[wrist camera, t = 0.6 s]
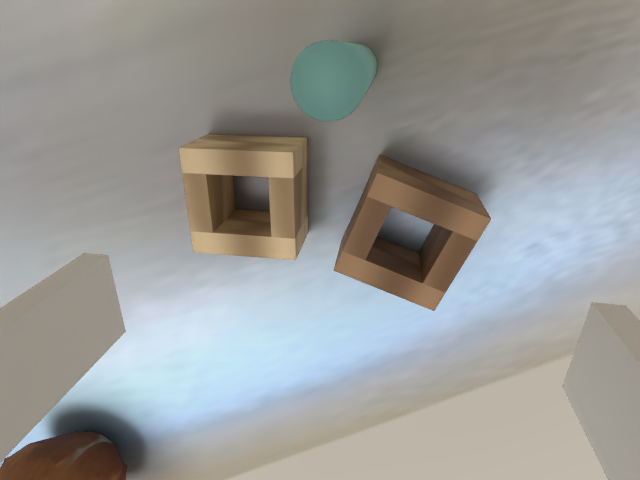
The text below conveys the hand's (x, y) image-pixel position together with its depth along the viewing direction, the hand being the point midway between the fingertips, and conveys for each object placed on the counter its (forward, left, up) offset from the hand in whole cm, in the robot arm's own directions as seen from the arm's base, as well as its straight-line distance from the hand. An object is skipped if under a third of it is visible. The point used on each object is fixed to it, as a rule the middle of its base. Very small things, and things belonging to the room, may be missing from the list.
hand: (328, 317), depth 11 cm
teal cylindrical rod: (-3, +5, -22) cm, 23 cm away
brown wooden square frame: (+5, -4, -22) cm, 23 cm away
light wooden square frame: (-7, -6, -22) cm, 24 cm away
